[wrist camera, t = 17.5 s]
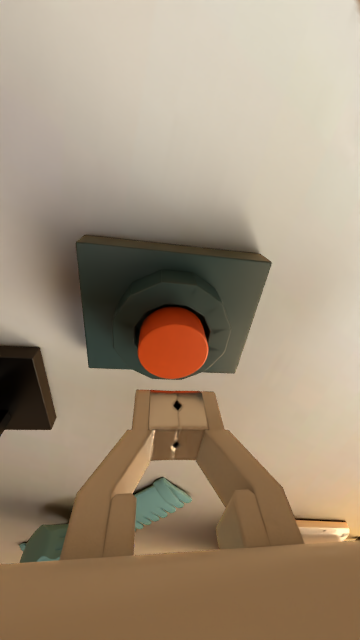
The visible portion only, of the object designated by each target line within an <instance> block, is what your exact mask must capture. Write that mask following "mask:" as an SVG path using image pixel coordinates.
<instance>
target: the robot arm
mask: <svg viewBox="0 0 360 640" xmlns="http://www.w3.org/2000/svg"><path fill="white" fill-rule="evenodd" d="M152 460H196V462H197V463H198V465H199V466H200V468H201V470H202V471H203V473H204V474H205V476H206V477H207V479H208V481H209V482H210V484H211V485H212V487H213V488H214V490H215V492H216V493H217V495H218V496H219V498H220V499H221V501H222V503H223V504H224V506H225V507H226V509H225V511H224V513H223V515H222V517H221V519H220V521H219V522H218V524H217V526H216V533H217V540H218V546H219V550H207V551H192V552H177V553H162V554H147V555H133V554H134V537H135V519H136V501H137V498H136V497H135V496H134V495H133V494H132V493H133V492H134V490H135V488H136V486H137V485H138V483H139V481H140V479H141V477H142V476H143V474H144V472H145V470H146V469H147V467H148V465H149V463H150V461H152ZM349 532H350V530H349V527H348V525H347V523H346V522H329V521H307V520H295V518H294V515H293V513H292V510H291V507H290V505H289V502H288V500H287V497H286V495H285V492H284V490H283V487H282V486H281V485H280V484H279V483H278V482H277V481H276V480H275V479H274V478H273V477H272V476H271V475H270V474H269V472H268V471H267V470H266V469H265V468H264V467H263V466H262V465H261V464H260V463H259V462H258V461H257V460H256V459H255V458H254V457H253V456H252V454H251V453H250V452H249V451H248V450H247V449H246V448H245V447H244V446H243V445H242V444H241V443H240V442H239V441H238V440H237V439H236V437H235V436H234V435H233V434H232V433H231V432H230V431H229V430H224V426H223V422H222V418H221V414H220V411H219V407H218V403H217V399H216V395H215V393H214V392H209V391H201V392H200V391H160V390H136V395H135V404H134V414H133V423H132V430H127V431H126V432H125V434H124V435H123V436H122V437H121V439H120V440H119V441H118V442H117V444H116V445H115V446H114V447H113V449H112V450H111V451H110V452H109V454H108V455H107V456H106V457H105V459H104V460H103V461H102V462H101V464H100V465H99V466H98V467H97V469H96V470H95V471H94V472H93V474H92V475H91V476H90V477H89V479H88V480H87V481H86V482H85V484H84V485H83V486H82V487H81V489H80V490H79V491H78V492H77V494H76V498H75V502H74V506H73V510H72V514H71V517H70V521H69V525H68V529H67V533H66V536H65V540H64V544H63V548H62V552H61V555H60V559H59V560H57V561H42V562H27V563H12V564H0V640H360V538H358V539H356V540H355V541H343V540H344V539H345V538H346V537H347V536H348V535H349Z"/></svg>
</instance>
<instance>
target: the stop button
mask: <svg viewBox="0 0 360 640" xmlns="http://www.w3.org/2000/svg"><path fill="white" fill-rule="evenodd" d="M207 355H208V343H207V339H206V336H205V332H204V329H203V326H202V323H201V321H200V319H199V318H198V317H197V316H196V315H195V314H194V313H192V312H191V311H189V310H187V309H184V308H181V307H165V308H161V309H158V310H156V311H154V312H153V313H151V314H150V315H149V316H148V317H147V318H146V319H145V320H144V322H143V323H142V325H141V329H140V335H139V343H138V358H139V361H140V363H141V364H142V366H143V367H144V368H145V369H146V370H147V371H148V372H150V373H151V374H153V375H155V376H158V377H161V378H168V379H175V378H182V377H185V376H188V375H190V374H192V373H194V372H195V371H197V370H198V369H199V368H200V367H201V366H202V365H203V364H204V362H205V360H206V358H207Z"/></svg>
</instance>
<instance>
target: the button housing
mask: <svg viewBox="0 0 360 640" xmlns="http://www.w3.org/2000/svg"><path fill="white" fill-rule="evenodd" d="M76 251H77V260H78V270H79V279H80V289H81V298H82V308H83V318H84V327H85V337H86V346H87V356H88V365H89V368H105V369H131V370H135V371H137V372H139V373H141V374H143V375H145V376H148V377H150V378H152V379H168V378H161V377H158V376H155V375H153V374H151V373H150V372H148V371H147V370H146V369H145V368H144V367H143V366H142V364H141V363H140V361H139V358H138V343H139V335H140V329H141V325H142V323H143V322H144V320H145V319H146V318H147V317H148V316H149V315H150V314H151V313H153V312H154V311H156V310H158V309H161V308H165V307H181V308H184V309H187V310H189V311H191V312H192V313H194V314H195V315H196V316H197V317H198V318H199V319H200V321H201V323H202V326H203V329H204V332H205V336H206V339H207V343H208V355H207V358H206V360H205V362H204V364H203V365H202V366H201V367H200V368H199V369H198V370H197V371H195V372H194V373H192V374H190V375H188V376H185V377H182V378H175V379H172V380H180V379H181V380H182V379H185V378H187V377H190V376H193V375H196V374H198V373H201V372H209V373H235V372H236V369H237V366H238V363H239V360H240V357H241V354H242V351H243V348H244V345H245V342H246V339H247V336H248V333H249V330H250V327H251V324H252V321H253V318H254V315H255V312H256V309H257V306H258V303H259V300H260V297H261V294H262V291H263V288H264V285H265V282H266V279H267V276H268V273H269V270H270V267H271V261H269V260H268V259H267V258H265V257H264V256H263V255H261V254H257V253H248V252H238V251H229V250H220V249H210V248H201V247H192V246H183V245H173V244H164V243H155V242H145V241H136V240H127V239H118V238H108V237H99V236H90V235H84V236H83V237H82V238H80V239H79V240H78V241H77V242H76Z"/></svg>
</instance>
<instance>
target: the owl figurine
mask: <svg viewBox="0 0 360 640" xmlns="http://www.w3.org/2000/svg"><path fill="white" fill-rule="evenodd" d="M153 484H154V485H152V486H150V487H148V488H146V489H144V490H143V491H141V492H139V493H137V494H135V495H134V496H135V497H136V498H137V501H136V519H135V531H136V528H137V529H142V528H143V524H145V525H150V524H151V521H150V520H152V521H158V520H159V517H162V518H165V517H167V513H166V512H165V511H167V512H169V513H173V512H175V510H176V508H175V507H177V508H182V507H183V506H184V503H190V502H191V501H192V499H191V497H190V496H189V495H187V494H186V493H185V492H184V491H182V490H180V489H179V488H177V486H176V485H173V484H171V483H170V482H169V481H167V480H166V479H165V478H161V479H159V480H156V481H155V482H153ZM180 500H181V501H180ZM183 502H184V503H183ZM174 506H175V507H174ZM164 510H165V511H164ZM158 516H159V517H158ZM149 519H150V520H149ZM140 522H141V523H140ZM142 523H143V524H142ZM68 525H69V524H57V525H42V526H40V527H39V528H38V529H37V530H36V531H35V533H34V534H33V535H32V536H31V538H30V539H29V541H28V542H27V543H22V544H20V545H19V546H20V548H21V550H22V551H23V554H22V557H21V560H20V563H27V562H42V561H57V560H59V559H60V555H61V552H62V548H63V544H64V540H65V536H66V533H67V529H68Z"/></svg>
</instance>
